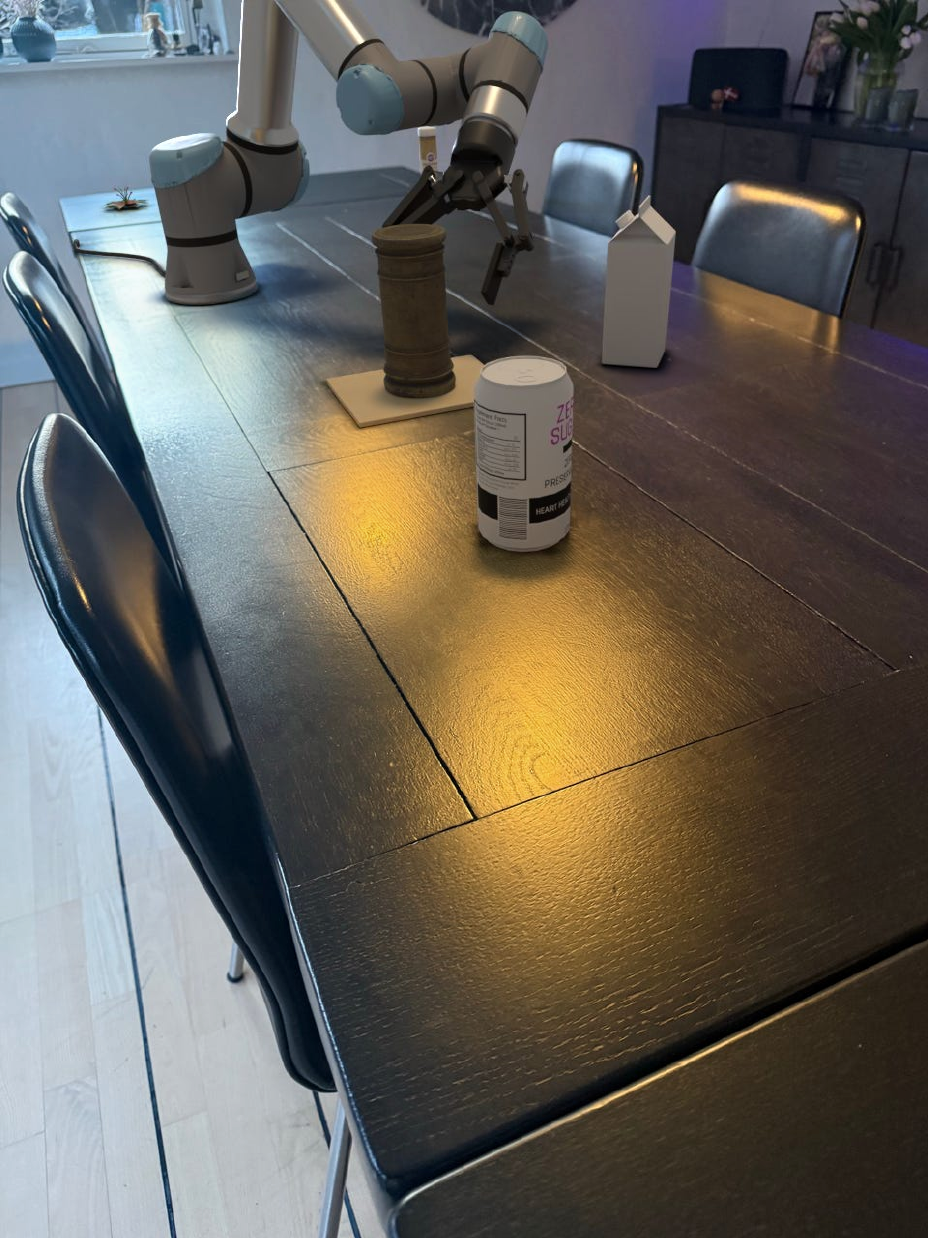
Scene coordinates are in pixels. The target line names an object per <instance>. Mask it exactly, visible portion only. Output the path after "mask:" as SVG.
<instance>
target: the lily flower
mask: <svg viewBox="0 0 928 1238" xmlns="http://www.w3.org/2000/svg"><path fill="white" fill-rule="evenodd" d="M117 188H118V189H119V190H120V191H119V190H118V189H117ZM117 188H115V187H113V190H114V191H116V192H118V193H119V194H118V193H116V197H120V198H121V199H122V200H117V201H110V202H108V203H107V204H104V205H103V206H104V207H103V208H102V210H103V209H114V208H117V209H118V210H120V209H121V208H133V207H134V208H139V206H140V204H148V202H147V201H148V199H136V198H133V199H130V197H131V195H132V194H133V191H131V190H130V192H129V194H128V189H129V186H126V188H124V189H123V190H124V191H122V189H121V188H120V186H118V187H117Z"/></svg>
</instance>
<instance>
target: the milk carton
mask: <svg viewBox="0 0 928 1238" xmlns="http://www.w3.org/2000/svg"><path fill="white" fill-rule="evenodd" d="M615 224H616V225H617V227H618V228H619V230H618V231H617V232H615V234H614V235H613V236H612V237H611V238H610V240H609V241H608V242H607V253H606V254H607V255H606V273H605V274H606V275H605V295H604V314H603V315H604V316H603V333H602V334H603V335H602V352H601V353H602V355H601V357H602V358H601V364H603V365H612V366H613V365H615V366H624V367H625V366H626V367H640V368H653V369H655V368H658V367H659V364H660V362H661V360H662V359H663V356H664V354H665V352H666V346H667V334H668V321H669V311H670V301H671V289H672V278H673V277H672V276H673V267H674V257H675V244H676V233H677V232H676V230H675V229H674V228H673V227H672V226H671V225H670V224H669V223H668V222H667V221H666V220H665V219H664V217H662V216H661V215H660V214H659V213H658V212H657V210H656V209H655V208H653V207H652V205H651V195H647V197H646V198H645V199H644V200H643V202H641V204H640V205H639V206H638V213H637V214H636V215H634V214H633V212H632V210H631V209H628V210H626V212H624V213H623V214H622V215H621V216H620V217H619V218H617V219H616V220H615Z"/></svg>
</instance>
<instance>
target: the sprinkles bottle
mask: <svg viewBox="0 0 928 1238" xmlns="http://www.w3.org/2000/svg"><path fill="white" fill-rule="evenodd" d="M417 138H418V156H419V171H420V176H421V175H422V172H423V170H424V168H425V167H426V166H428V165H430V166H432V168H433V169H434V171H439V169H438V153H437V151H438V149H437V141H436V140H437V139H436V138H437V127H436V126H433V127H429V126H423V127H417Z"/></svg>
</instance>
